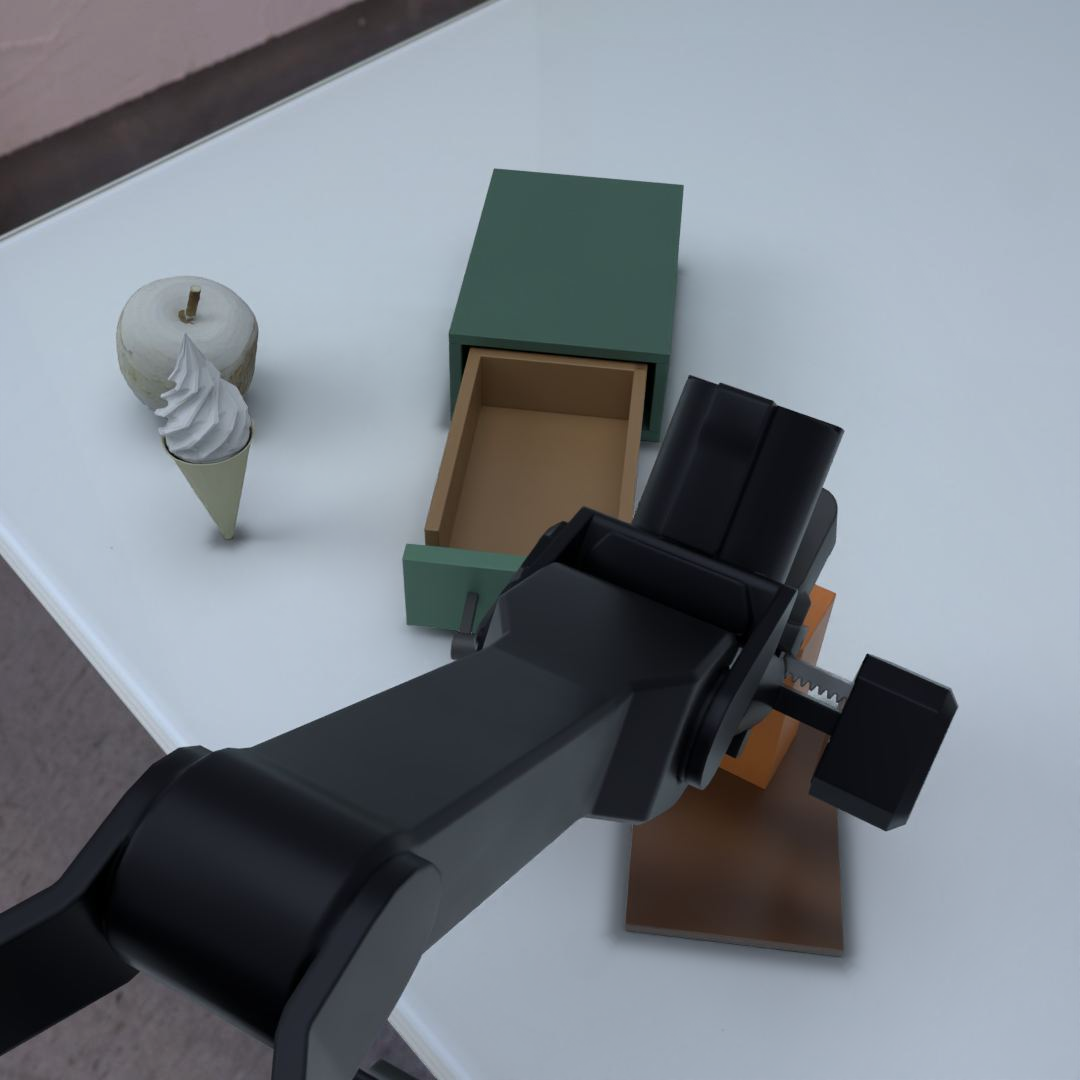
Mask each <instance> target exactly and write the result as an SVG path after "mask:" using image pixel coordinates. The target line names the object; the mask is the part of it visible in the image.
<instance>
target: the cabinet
mask: <svg viewBox="0 0 1080 1080" xmlns="http://www.w3.org/2000/svg"><path fill="white" fill-rule="evenodd" d="M684 189H685V186H684V184H679V183H666V182H655V181H644V180H632V179H621V178H608V177H597V176H586V175H577V174H576V175H575V174H566V173H565V174H564V173H563V174H562V173H553V172H552V173H551V172H543V171H529V170H518V169H507V168H496V167H495V168H493V170H492V174H491V177H490V180H489V184H488V188H487V191H486V196H485V200H484V202H483V206H482V209H481V214H480V217H479V221H478V224H477V228H476V232H475V236H474V239H473V243H472V246H471V250H470V252H469V253H470V254H469V257H468V261H467V264H466V268H465V271H464V275H463V280H462V282H461V286H460V290H459V293H458V297H457V300H456V304H455V308H454V311H453V315H452V320H451V322H450V327H449V329H448V335H447V336H448V365H449V369H448V370H449V399H450V402H449V404H450V405H449V406H450V421H451V422H452V418H453V414H454V410H455V406H456V402H457V398H458V394H459V390H460V386H461V382H462V378H463V374H464V370H465V366H466V362H467V358H468V354H469V350H470V347H475V348H485V349H496V350H506V351H516V352H527V353H537V354H548V355H558V356H569V357H579V358H589V359H600V360H610V361H621V362H631V363H641V364H647V365H648V367H647V378H646V388H645V398H644V408H643V419H642V429H641V439H640V441H646V442H658V443H659V442H660V441H661V433H662V432H661V431H662V426H663V418H664V411H665V402H666V395H667V394H666V393H667V386H668V377H669V371H670V362H671V354H672V353H671V352H672V343H673V341H672V340H673V329H674V315H675V306H676V305H675V303H676V290H677V289H676V288H677V277H678V265H679V253H680V239H681V228H682V217H683V204H684V203H683V202H684Z"/></svg>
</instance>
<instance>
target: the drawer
mask: <svg viewBox="0 0 1080 1080" xmlns="http://www.w3.org/2000/svg"><path fill="white" fill-rule="evenodd" d="M647 367H648V365H647V364H641V363H631V362H621V361H610V360H600V359H589V358H579V357H569V356H558V355H548V354H537V353H527V352H516V351H506V350H496V349H485V348H475V347H470V350H469V354H468V358H467V362H466V366H465V370H464V374H463V378H462V382H461V386H460V390H459V394H458V398H457V402H456V406H455V410H454V414H453V418H452V421H451V422H450V425H449V429H448V434H447V436H446V437H447V438H446V442H445V445H444V449H443V453H442V457H441V461H440V466H439V470H438V473H437V478H436V482H435V485H434V488H433V492H432V497H431V501H430V504H429V505H430V506H429V509H428V514H427V516H426V521H425V524H424V528H423V531H424V532H423V533H424V535H423V536H424V544H417V543H406V544H405V547H404V551H403V555H402V559H401V561H402V575H403V576H402V577H403V578H402V579H403V590H404V591H403V592H404V604H405V607H404V608H405V620H406V625H407V626H412V627H420V628H421V627H422V628H431V629H441V630H449V631H456V632H453V634H452V638H451V644H450V659H451V660H452V661H456V660H458V659H461V658H463V657H465V656H468V655H470V654H473V653H475V652H476V649H475V646H474V637H475V634H474V633H476V630H477V628H478V626H479V624H480V622H481V620H482V619H483V617H484V616H485V614H486V613H487V612H488V610H489V609H490V607H491V606H492V605H493V603H494V602H495V601H496V599H497V598H498V596H499V595H500V594H501V592H502V591H503V589H504V588H505V587H506V585H507V584H508V583H509V581H510V580H511V578H512V577H513V576H514V574H515V573H516V572H517V570H518V569H519V567H520V566H521V565H522V563H523V562H524V561H525V559H526V558H527V556H528V555H529V554H530V552H531V551H532V550H533V548H534V547H535V545H536V544H537V543H538V541H539V539H540V538H541V536H542V535H543V534H544V533H545V532H546V530H547V529H548V528H550V527H551V526H553V525H555V524H557V523H559V522H561V521H566V522H569V521H570V520H571V519H572V518H573V517H574V516H575V515H576V513H577V512H578V511H579V510H580V509H581V508H582V507H583V506H586V507H589V508H591V509H594V510H596V511H599V512H601V513H604V514H607V515H609V516H612V517H614V518H617V519H619V520H622V521H624V522H627V523H632V520H633V517H634V511H635V510H634V509H635V499H636V489H637V479H638V468H639V460H640V459H639V457H640V447H641V440H640V439H641V429H642V419H643V408H644V398H645V388H646V378H647ZM457 631H458V632H457Z"/></svg>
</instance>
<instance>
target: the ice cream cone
mask: <svg viewBox="0 0 1080 1080" xmlns="http://www.w3.org/2000/svg"><path fill="white" fill-rule="evenodd" d="M174 369H175V370H174V371H173V373H172V374H171V375H170V376H169V378H168V380H169V381H174V382H176V383H177V385H176V387H175V388H174V389H172V390H170V391H168V392H166V393H163V394H161V397H160V398H163V399H166V400H167V401H168V406H166V407H165V408H161V409H156V411H155V412H154V415H155V416H156V417H161V418H165V417H166V418H165V419H167V422H166V424H165V426H162V427H158V431H157V433H158V434H159V435H160V443H161V444H160V445H161V446H162V449H163V450H164V452H165V453H166V454H167V455H168V456H169V457H170V458H171V459H172V460H173V461H174V463H175V465H176V466H177V467H178V469H179V471H180V472H181V473H182V475H183V476H184V478H185V479H186V481H187V483H188V484H189V486H190V488H191V489H192V491H193V492H194V493H195V495H196V496H197V498H198V500H199V501H200V503H201V504H202V505H203V508H204V509H205V510H206V511H207V513H208V514H209V516H210V517H211V519H212V520H213V522H214V523H215V525H216V527H217V528H218V529H219V531H220V532H221V534H222V535H223V537H224V538H225V539H226V540H232V539H233V538H234V536H235V530H236V525H237V521H238V515H239V509H240V503H241V497H242V493H243V487H244V482H245V477H246V471H247V468H248V467H247V466H248V459H249V454H250V449H251V444H252V442H253V440H254V438H255V434H256V433H255V432H256V427H255V424H254V421H253V419H252V418H251V417H250V415H249V412H248V411H249V410H248V409H249V407H248V405H247V403H246V401H245V400H244V397H242V396H241V394H240V392H239V390H238V388H237V387H236V386H235V385H233V384H231V383H229V382H227V381H225V380H223V379H221V378H220V374H221V373H220V372H219V371H218V370H217V369H216V368H215V367H214V365H213V363H212V362H210V361H209V360H207V359H206V357H205V356H204V355H203V354H202V353H201V351H200V350H199V349H198V348H197V346H196V345H195V344H194V343H193V342H192V340H191V339H190V338H189V337H188V335H187V333H185V334H184V338H183V342H182V346H181V349H180V352H179V355H178V359H177V362H176V364H175V367H174Z"/></svg>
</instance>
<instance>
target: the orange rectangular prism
mask: <svg viewBox="0 0 1080 1080" xmlns="http://www.w3.org/2000/svg"><path fill="white" fill-rule="evenodd" d="M809 597H810V600H811V606H810V609H809V611H808V613H807V616H806V618H805V620H804V623H803V625H805V626H807V627H809V630H808V632H807V634H806V637H805V639H804V641H803V644H802V646H801V648H800V650H799V653H798V655H797V656H795V657H797V658H799V659H802V660H804V661H806V662H808V663H811V664H813V665H815V666H817V664H818V660H819V657H820V653H821V649H822V646H823V642H824V639H825V635H826V632H827V628H828V626H829V622H830V619H831V614H832V611H833V608H834V604H835V600H836V597H837V593H836V591H835V592H834V591H832V590H830V589H827V588H825V587H823V586H821V585H818V584H816V583H815V585H814V587H813V589H812V591H811V593H810V595H809ZM791 678H792V675H791V674H790V675H789V676H788V677H787V678H786V679H784V682H783V684H785V685H787V686H790V687H792V688H794V689H796V690H798V691H801V692H803V693H805V694H807V695H809V692H810V690H809V682H808V683H807V684H806V685H805V686H804V687H801V686H800V678H799V679H798V680H797V681H796V682H795V683H792V682H791ZM799 723H800V721H798V720H796V719H793V718H791V717H789V716H787V715H785V714H783V713H781V712H778V711H776V710H774V709H772V710H771V712H770V713H769V714H768V715H767V716H766V718H765V719H763V720H762V721H761V722H760V723H759V724H758V725H756V726H754V727H753V728H752V730H751V733H750V735H749V737H748V740H747V742H746V744H745V747H744V749H743V751H742V753H741V756H740V757H738V758H736V759H735V758H733V757H731V756H729V755H727V754H725V755H724V757H723V759H722V761H721V763H720V765H719V767H720V768H722V769H724V770H726V771H728V772H730V773H732V774H734V775H736V776H738V777H740V778H742V779H744V780H747V781H749V782H751V783H753V784H755V785H757V786H759V787H761V788H763V789H766V788H767V786H768V784H769V782H770V780H771V779H772V777H773V775H774V773H775V771H776V770H777V768H778V766H779V764H780V762H781V761H782V759H783V757H784V755H785V754H786V752H787V750H788V748H789V746H790V745H791V743H792V741H793V739H794V737H795V736H796V733H797V730H798V726H799Z"/></svg>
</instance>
